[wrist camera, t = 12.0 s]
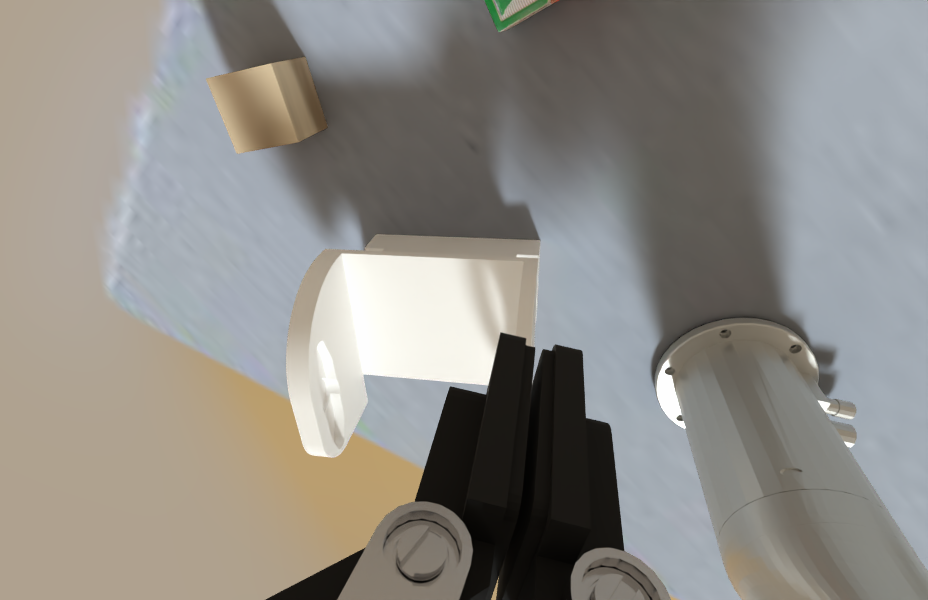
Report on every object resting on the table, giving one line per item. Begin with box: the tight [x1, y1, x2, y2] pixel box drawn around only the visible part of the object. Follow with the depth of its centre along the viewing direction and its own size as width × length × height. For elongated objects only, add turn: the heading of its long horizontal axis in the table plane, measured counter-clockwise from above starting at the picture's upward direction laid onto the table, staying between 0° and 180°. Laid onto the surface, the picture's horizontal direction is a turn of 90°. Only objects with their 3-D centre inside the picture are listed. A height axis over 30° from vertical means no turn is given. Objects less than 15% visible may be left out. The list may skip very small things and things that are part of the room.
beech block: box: [206, 57, 328, 154], centre depth 35 cm, size 5×5×5 cm
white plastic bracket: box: [286, 234, 540, 458], centre depth 35 cm, size 14×13×18 cm
